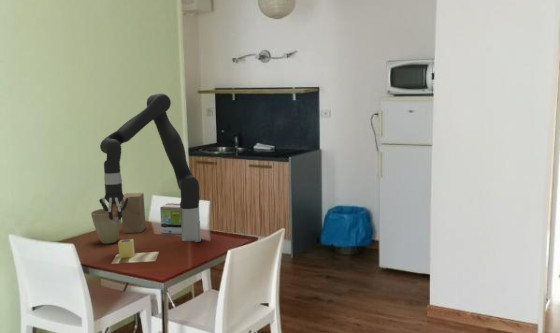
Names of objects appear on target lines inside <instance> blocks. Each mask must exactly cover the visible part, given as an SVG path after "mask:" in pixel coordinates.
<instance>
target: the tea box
mask: <svg viewBox="0 0 560 333" xmlns="http://www.w3.org/2000/svg"><path fill="white" fill-rule="evenodd" d="M159 208H160V209H159V210H160V223H161V224H160V227H161V234H173V235H175V234H176V235H182V229H181V212H180V203H176V202H175V203H174V202H170V203H169V202H167V203H166V204H164V205H162V206H160V207H159Z"/></svg>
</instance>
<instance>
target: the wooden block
mask: <svg viewBox="0 0 560 333" xmlns="http://www.w3.org/2000/svg"><path fill="white" fill-rule="evenodd" d="M123 195H124V196H125V197H129V201H128V204H127V206H126V209H125V210H122V218H121V225H122V232H123V234H137V233H140V234H141V233H143V231H144V230H145V229H146V227H147V226H146V224H147V223H146V212H145V210H146V209H145V199H144V198H145V195H144V192H130V193H129V192H126V193H123ZM124 203H125V201H124V199H122V201H121V207H123V205H124Z"/></svg>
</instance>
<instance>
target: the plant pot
mask: <svg viewBox="0 0 560 333" xmlns="http://www.w3.org/2000/svg"><path fill="white" fill-rule="evenodd" d="M90 215H91V218H92V223H93V226H94V228H95V231H96V233H97V236H98V238H99V240H100V242H101V243H102V244H113V243H116V242H117V240H118V238H119V233H120V229H121V225H122V218H121V219H120V220H119V223H115V224H114V223H113V221H112V220H111V219H109V212H108V211H105V210H104V209H103V208H100V209H95V210H93V211H91V212H90Z"/></svg>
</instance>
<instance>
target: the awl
mask: <svg viewBox="0 0 560 333" xmlns="http://www.w3.org/2000/svg"><path fill="white" fill-rule="evenodd" d="M112 221H113V223H114V224H115V223H119V219H118V207H117V204H112Z"/></svg>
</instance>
